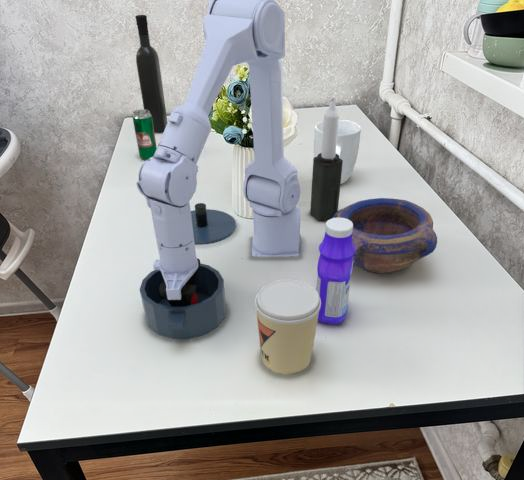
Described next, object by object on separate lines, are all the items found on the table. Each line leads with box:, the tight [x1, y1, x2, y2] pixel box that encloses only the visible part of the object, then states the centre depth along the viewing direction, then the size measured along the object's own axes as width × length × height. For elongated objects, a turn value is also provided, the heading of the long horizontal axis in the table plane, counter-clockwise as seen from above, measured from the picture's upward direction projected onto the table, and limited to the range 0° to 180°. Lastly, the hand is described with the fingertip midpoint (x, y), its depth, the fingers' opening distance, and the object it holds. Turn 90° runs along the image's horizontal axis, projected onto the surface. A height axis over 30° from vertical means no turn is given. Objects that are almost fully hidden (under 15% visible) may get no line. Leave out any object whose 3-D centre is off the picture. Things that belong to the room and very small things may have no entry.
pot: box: [139, 262, 227, 340], centre depth 83 cm, size 14×19×6 cm
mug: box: [313, 118, 362, 185], centre depth 119 cm, size 15×11×13 cm
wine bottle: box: [135, 14, 168, 134], centre depth 143 cm, size 6×6×30 cm
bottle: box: [315, 217, 355, 325], centre depth 79 cm, size 7×6×17 cm
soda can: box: [132, 108, 158, 161], centre depth 133 cm, size 5×5×12 cm
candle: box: [309, 95, 343, 223], centre depth 103 cm, size 5×5×25 cm
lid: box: [191, 202, 237, 245], centre depth 105 cm, size 15×15×6 cm
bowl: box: [332, 197, 438, 274], centre depth 94 cm, size 18×18×10 cm
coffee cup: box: [254, 278, 321, 375], centre depth 73 cm, size 9×9×12 cm
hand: (185, 308), depth 84 cm, fingers closed on strawberry, 4 cm apart
